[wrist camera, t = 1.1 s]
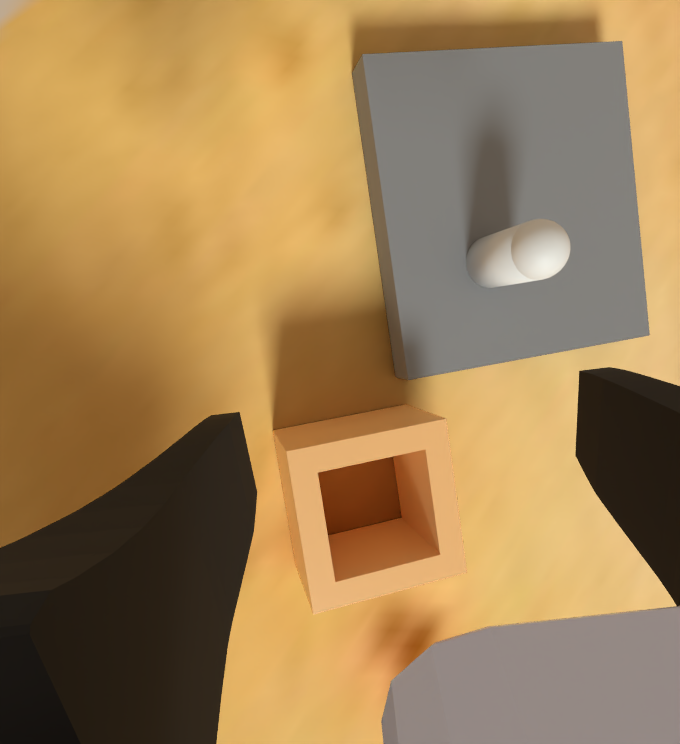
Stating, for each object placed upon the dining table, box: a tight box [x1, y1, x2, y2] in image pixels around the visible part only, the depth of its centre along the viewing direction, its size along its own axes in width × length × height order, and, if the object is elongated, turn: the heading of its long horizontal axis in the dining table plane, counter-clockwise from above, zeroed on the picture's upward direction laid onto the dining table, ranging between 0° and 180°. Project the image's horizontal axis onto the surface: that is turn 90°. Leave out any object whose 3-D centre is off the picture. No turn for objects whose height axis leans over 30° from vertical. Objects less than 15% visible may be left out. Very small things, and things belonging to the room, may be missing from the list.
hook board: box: [352, 41, 650, 380], centre depth 20 cm, size 12×11×6 cm
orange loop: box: [273, 404, 467, 614], centre depth 21 cm, size 6×6×4 cm
